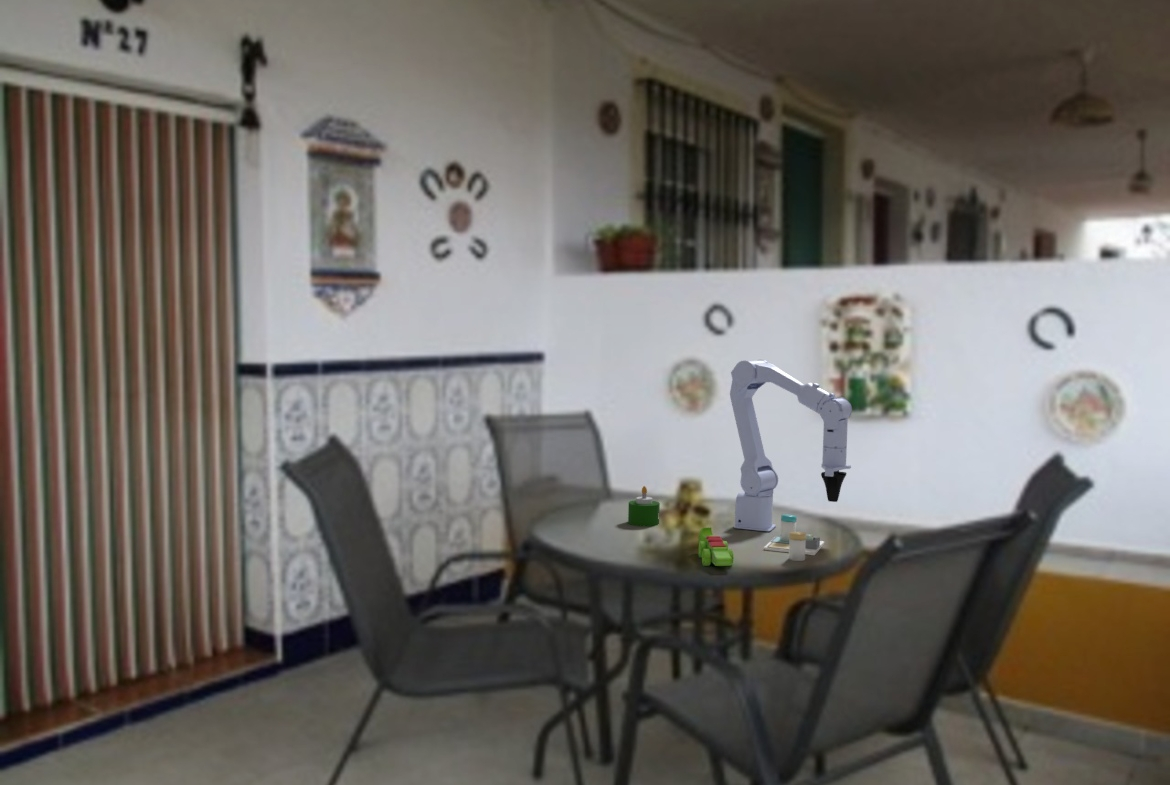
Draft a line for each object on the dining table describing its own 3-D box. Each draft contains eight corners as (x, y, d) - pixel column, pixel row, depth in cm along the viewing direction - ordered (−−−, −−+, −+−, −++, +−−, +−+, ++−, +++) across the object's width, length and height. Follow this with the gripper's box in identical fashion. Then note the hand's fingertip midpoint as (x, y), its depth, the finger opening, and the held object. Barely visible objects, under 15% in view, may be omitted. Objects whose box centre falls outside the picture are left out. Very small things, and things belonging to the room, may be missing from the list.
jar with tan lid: (787, 560, 228) (788, 534, 227) (790, 556, 231) (791, 531, 231) (803, 561, 226) (804, 535, 226) (806, 558, 230) (807, 532, 229)
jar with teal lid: (779, 540, 243) (781, 516, 243) (780, 537, 247) (781, 513, 246) (794, 542, 242) (796, 517, 242) (795, 539, 246) (797, 515, 246)
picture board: (763, 549, 237) (764, 539, 237) (775, 538, 249) (776, 528, 249) (814, 555, 233) (814, 544, 232) (824, 543, 245) (824, 533, 244)
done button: (803, 544, 238) (804, 535, 238) (805, 542, 240) (805, 533, 240) (812, 545, 237) (812, 536, 237) (813, 543, 239) (814, 534, 239)
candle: (657, 520, 270) (658, 483, 269) (660, 526, 262) (661, 489, 261) (627, 519, 270) (627, 483, 269) (629, 526, 261) (630, 488, 261)
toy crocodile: (736, 573, 216) (737, 545, 216) (706, 573, 216) (706, 545, 216) (722, 551, 236) (723, 526, 235) (694, 551, 236) (695, 525, 235)
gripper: (846, 451, 238) (844, 507, 239) (855, 444, 251) (853, 497, 253) (816, 449, 241) (815, 505, 242) (827, 442, 254) (825, 495, 255)
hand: (832, 501), depth 248 cm, fingers closed
